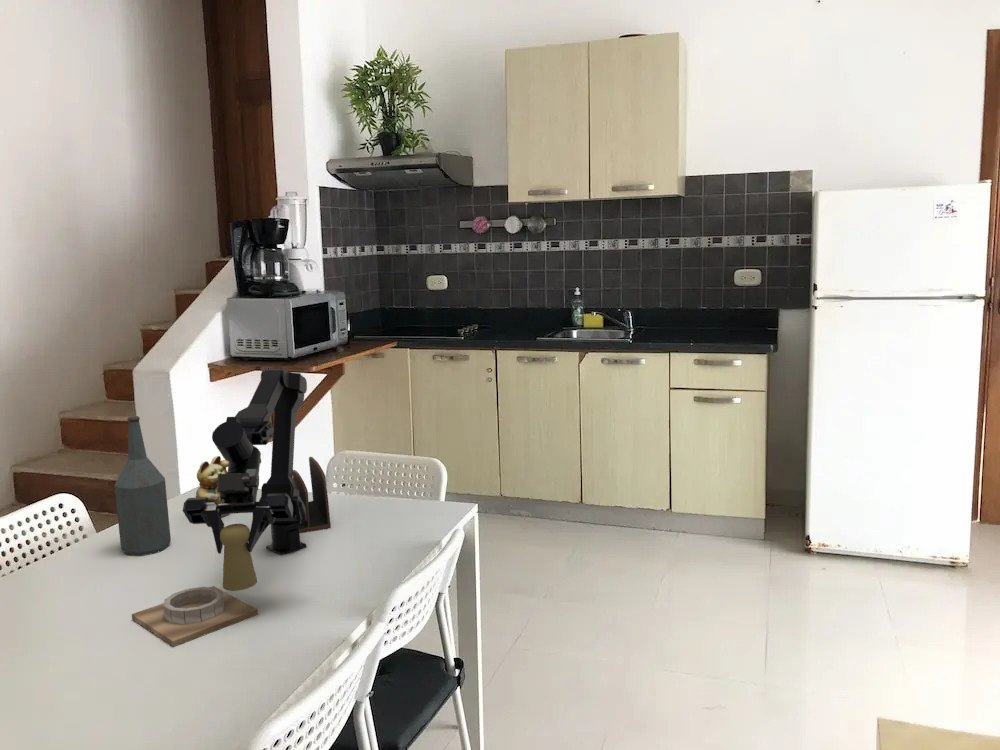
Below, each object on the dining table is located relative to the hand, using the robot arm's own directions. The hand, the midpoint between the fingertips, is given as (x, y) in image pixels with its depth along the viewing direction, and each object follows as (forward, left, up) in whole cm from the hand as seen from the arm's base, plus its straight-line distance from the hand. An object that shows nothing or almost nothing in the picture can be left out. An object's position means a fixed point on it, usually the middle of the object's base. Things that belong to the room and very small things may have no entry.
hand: (234, 551), depth 149 cm
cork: (-1, +1, -7) cm, 7 cm away
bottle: (-48, +5, -13) cm, 50 cm away
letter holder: (-37, +38, -13) cm, 55 cm away
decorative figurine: (-57, +26, -13) cm, 64 cm away
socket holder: (-6, -5, -12) cm, 15 cm away
